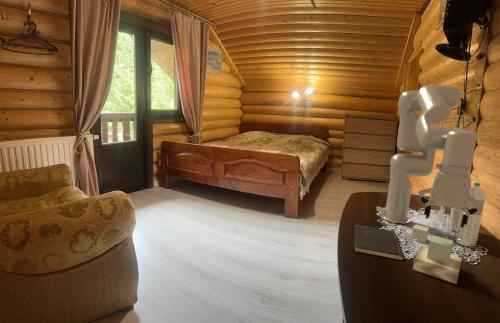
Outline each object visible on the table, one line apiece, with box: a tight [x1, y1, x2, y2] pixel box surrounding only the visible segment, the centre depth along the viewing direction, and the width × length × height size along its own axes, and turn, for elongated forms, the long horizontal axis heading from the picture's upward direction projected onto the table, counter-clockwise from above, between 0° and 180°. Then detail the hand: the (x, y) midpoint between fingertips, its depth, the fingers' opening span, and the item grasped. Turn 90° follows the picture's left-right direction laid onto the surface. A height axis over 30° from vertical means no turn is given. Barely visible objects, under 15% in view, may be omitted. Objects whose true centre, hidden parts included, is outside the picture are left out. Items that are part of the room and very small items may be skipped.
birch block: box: [412, 245, 463, 285], centre depth 100 cm, size 12×12×4 cm
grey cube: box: [410, 224, 430, 244], centre depth 124 cm, size 5×5×5 cm
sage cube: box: [427, 235, 454, 264], centre depth 99 cm, size 6×6×6 cm
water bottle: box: [455, 182, 487, 248], centre depth 120 cm, size 7×7×25 cm
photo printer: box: [448, 207, 462, 233], centre depth 135 cm, size 10×4×12 cm, turn 101°
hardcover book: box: [354, 224, 404, 261], centre depth 118 cm, size 16×23×2 cm
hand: (444, 221), depth 98 cm, fingers open, 9 cm apart
